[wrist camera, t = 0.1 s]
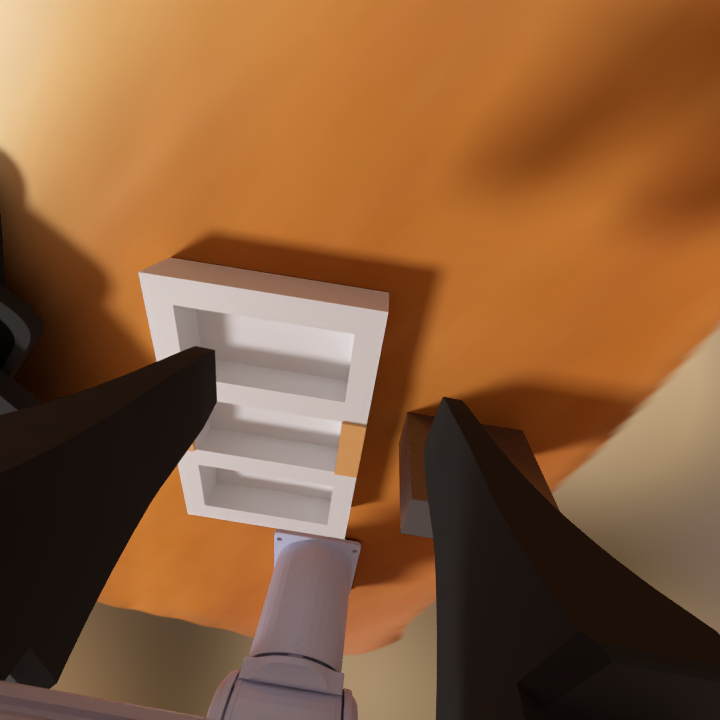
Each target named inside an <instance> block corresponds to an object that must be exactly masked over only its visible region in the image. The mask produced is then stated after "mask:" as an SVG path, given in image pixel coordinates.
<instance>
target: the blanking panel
mask: <svg viewBox="0 0 720 720" xmlns="http://www.w3.org/2000/svg"><path fill="white" fill-rule="evenodd" d="M434 419H435V417H434V416H428V415H421V414H415V413H409V412H407V415H406V419H405V423H404V427H403V430H402V434H401V438H400V442H399V477H400V533H403V534H409V535H415V536H421V537H428V538H433V534H432V526H431V519H430V511H429V504H428V496H427V489H426V481H425V468H424V451H425V441H426V439H427V436H428V434H429V431H430V429H431V426H432V424H433V421H434ZM481 425H482V426H483V428H484V429H485V430H486V432H487V433H488V434H489V435H490V437H491V438H492V439H493V440H494V442H495V443H496V444H497V445H498V447H499V448H500V449H501V450H502V451H503V453H504V454H505V455H506V456H507V457H508V459H509V460H510V461H511V462H512V463H513V464H514V465H515V467H516V468H517V469H518V470H519V471H520V472H521V473H522V474H523V475H524V477H525V478H526V479H527V480H528V481H529V482H530V483H531V484H532V485H533V486H534V487H535V488H536V489H537V490H538V491H539V492H540V493H541V494H542V495H543V496H544V497H545V498H546V499H547V500H548V501H549V502H550V503H551V504H552V505H553V506H554V507H555V508H556V509H557V510H558V511H559V509H558V506H557V504H556V502H555V500H554V498H553V496H552V493H551V491H550V489H549V487H548V485H547V483H546V481H545V478H544V476H543V474H542V472H541V470H540V468H539V465H538V463H537V461H536V459H535V457H534V455H533V452H532V450H531V448H530V446H529V444H528V442H527V439H526V437H525V435H524V433H523V431H520V430H514V429H508V428H502V427H496V426H489V425H483V424H481ZM559 512H560V511H559Z"/></svg>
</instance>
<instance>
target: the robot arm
mask: <svg viewBox="0 0 720 720" xmlns="http://www.w3.org/2000/svg"><path fill="white" fill-rule="evenodd" d="M216 403H217V387H216V361H215V350H213V349H208V348H203V347H198V346H194V347H191V348H188V349H186V350H183V351H181V352H178V353H176V354H174V355H171V356H169V357H167V358H164V359H162V360H160V361H157V362H155V363H153V364H150V365H148V366H146V367H143V368H141V369H139V370H136V371H134V372H131V373H129V374H126V375H124V376H121V377H119V378H116V379H113V380H111V381H108V382H106V383H103V384H100V385H98V386H95V387H93V388H90V389H87V390H84V391H81V392H78V393H75V394H72V395H69V396H66V397H63V398H60V399H56V400H53V401H50V402H47V403H43V404H40V405H36V406H33V407H29V408H25V409H21V410H17V411H13V412H9V413H5V414H1V415H0V720H358V711H357V703H356V701H355V699H354V697H353V696H352V692H351V690H349V689H343V681H344V673H341V669H342V658H343V649H344V640H345V630H346V620H347V610H348V601H349V595H350V591H351V587H352V583H353V579H354V575H355V570H356V566H357V562H358V558H359V554H360V550H361V544H360V543H359V542H357V541H351V540H345V539H339V538H333V537H327V536H320V535H314V534H308V533H302V532H296V531H290V530H284V529H277V530H276V531H275V534H274V572H273V575H272V579H271V582H270V586H269V589H268V593H267V596H266V600H265V603H264V606H263V610H262V613H261V617H260V620H259V624H258V627H257V631H256V634H255V638H254V641H253V645H252V648H251V652H250V655H249V657H247V656H246V657H244V660H243V663H242V667H241V670H240V671H238V670H233V671H231V672H230V673H229V675H228V676H227V677H226V678H224V679H223V680H222V681H221V683H220V684H219V687H218V688H217V690H216V693H215V695H214V697H213V700H212V702H211V705H210V708H209V710H208V713H207V716H206V717H202V716H196V715H191V714H185V713H179V712H174V711H168V710H162V709H157V708H151V707H146V706H140V705H135V704H129V703H124V702H118V701H113V700H107V699H102V698H96V697H90V696H85V695H79V694H74V693H68V692H63V691H57V690H51V689H50V688H51V687H52V686H54V685H55V684H56V683H57V682H58V680H59V677H60V675H61V673H62V671H63V669H64V667H65V664H66V662H67V660H68V658H69V656H70V654H71V652H72V650H73V648H74V646H75V643H76V642H77V639H78V637H79V635H80V633H81V631H82V629H83V627H84V625H85V623H86V621H87V619H88V617H89V614H90V613H91V611H92V609H93V607H94V605H95V603H96V601H97V599H98V597H99V595H100V593H101V591H102V589H103V588H104V586H105V584H106V582H107V580H108V578H109V576H110V574H111V572H112V570H113V568H114V567H115V565H116V563H117V561H118V559H119V557H120V556H121V554H122V552H123V550H124V548H125V547H126V545H127V543H128V541H129V539H130V537H131V536H132V534H133V532H134V530H135V529H136V527H137V525H138V524H139V522H140V520H141V518H142V517H143V515H144V513H145V511H146V510H147V508H148V506H149V505H150V503H151V501H152V500H153V498H154V497H155V495H156V494H157V492H158V491H159V489H160V488H161V486H162V485H163V484H164V482H165V481H166V480H167V478H168V477H169V475H170V474H171V473H172V471H173V470H174V468H175V467H176V466H177V464H178V463H179V462H180V460H181V459H182V457H183V456H184V455H185V453H186V452H187V451H188V449H189V448H190V446H191V445H192V444H193V442H194V441H195V439H196V438H197V436H198V435H199V434H200V432H201V431H202V429H203V428H204V426H205V424H206V422H207V420H208V418H209V417H210V415H211V413H212V411H213V409H214V407H215V405H216ZM424 468H425V481H426V489H427V496H428V504H429V511H430V519H431V526H432V534H433V541H434V551H435V569H436V601H437V698H436V720H720V635H719V634H718V632H717V631H715V630H714V629H712V628H711V627H709V626H708V625H706V624H705V623H704V622H702V621H701V620H699V619H698V618H696V617H695V616H693V615H692V614H691V613H689V612H688V611H686V610H685V609H683V608H682V607H680V606H679V605H677V604H676V603H675V602H673V601H672V600H670V599H669V598H667V597H666V596H665V595H663V594H662V593H660V592H659V591H657V590H656V589H654V588H653V587H652V586H650V585H649V584H648V583H646V582H645V581H643V580H642V579H641V578H640V577H638V576H637V575H636V574H634V573H633V572H632V571H630V570H629V569H628V568H626V567H625V566H624V565H623V564H621V563H620V562H619V561H617V560H616V559H615V558H613V557H612V556H611V555H610V554H609V553H607V552H606V551H605V550H603V549H602V548H601V547H600V546H599V545H597V544H596V543H595V542H594V541H593V540H591V539H590V538H589V537H588V536H587V535H586V534H584V533H583V532H582V531H581V530H580V529H579V528H577V527H576V526H575V525H574V524H573V523H571V522H570V521H569V520H568V519H567V518H566V517H565V516H563V514H562V513H561V512H559V511H558V510H557V509H556V508H555V507H554V506H553V505H552V504H551V503H550V502H549V501H548V500H547V499H546V498H545V497H544V496H543V495H542V494H541V493H540V492H539V491H538V490H537V489H536V488H535V487H534V486H533V485H532V484H531V483H530V482H529V481H528V480H527V479H526V478H525V477H524V475H523V474H522V473H521V472H520V471H519V470H518V469H517V468H516V467H515V465H514V464H513V463H512V462H511V461H510V460H509V459H508V457H507V456H506V455H505V454H504V453H503V451H502V450H501V449H500V448H499V447H498V445H497V444H496V443H495V442H494V440H493V439H492V438H491V437H490V435H489V434H488V433H487V432H486V430H485V429H484V428H483V426H482V425H481V424H480V422H479V421H478V420H477V419H476V417H475V416H474V415H473V413H472V412H471V411H470V409H469V408H468V407H467V406H466V404H465V403H464V402H463V401H462V400H457V399H452V398H447V397H443V398H442V401H441V403H440V406H439V408H438V411H437V413H436V416H435V419H434V421H433V424H432V426H431V429H430V431H429V434H428V436H427V439H426V441H425V451H424Z"/></svg>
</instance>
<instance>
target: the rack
mask: <svg viewBox="0 0 720 720" xmlns="http://www.w3.org/2000/svg"><path fill="white" fill-rule="evenodd" d="M138 273H139V278H140V283H141V288H142V293H143V297H144V302H145V307H146V312H147V317H148V322H149V327H150V332H151V336H152V341H153V346H154V351H155V356H156V361H160V360H162V359H164V358H167V357H169V356H171V355H174V354H176V353H178V352H181V351H183V350H186V349H188V348H191V347H194V346H198V347H203V348H208V349H213V350H215V361H216V387H217V403H216V405H215V407H214V409H213V411H212V413H211V415H210V417H209V418H208V420H207V422H206V424H205V426H204V428H203V429H202V431H201V432H200V434H199V435H198V436H197V438H196V439H195V441H194V442H193V444H192V445H191V446H190V448H189V449H188V451H187V452H186V453H185V455H184V456H183V457H182V459H181V460H180V462H179V463H178V468H179V473H180V478H181V483H182V488H183V493H184V497H185V502H186V507H187V512H188V514H191V515H198V516H204V517H210V518H216V519H222V520H228V521H234V522H241V523H247V524H253V525H259V526H265V527H271V528H277V529H284V530H290V531H296V532H302V533H308V534H314V535H320V536H327V537H333V538H339V539H345V535H346V529H347V524H348V519H349V514H350V509H351V504H352V498H353V493H354V488H355V483H356V478H357V474H358V468H359V463H360V458H361V453H362V448H363V443H364V437H365V432H366V426H367V421H368V416H369V411H370V405H371V400H372V395H373V390H374V385H375V380H376V374H377V369H378V364H379V359H380V354H381V349H382V343H383V338H384V333H385V328H386V323H387V318H388V312H389V292H382V291H376V290H370V289H364V288H357V287H351V286H345V285H339V284H333V283H326V282H320V281H314V280H308V279H301V278H295V277H289V276H283V275H276V274H270V273H264V272H258V271H251V270H245V269H239V268H233V267H227V266H220V265H214V264H208V263H202V262H195V261H189V260H183V259H177V258H168V259H165V260H163V261H161V262H159V263H157V264H155V265H152V266H150V267H148V268H146V269H144V270H142V271H139V272H138Z"/></svg>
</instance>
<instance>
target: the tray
mask: <svg viewBox="0 0 720 720" xmlns="http://www.w3.org/2000/svg"><path fill="white" fill-rule="evenodd" d="M42 332H43V324H42V321H41V319H40V317H39V316H38V315H37V313H36V312H35V311H34V310H33V309H32V308H31V307H30V306H29V305H27V304H26V303H25V302H24V301H22V300H21V299H19V298H18V297H17V296H15V295H14V294H12V293H11V292H10V291H8V290H7V289H6V288H5V280H4V262H3V243H2V225H1V215H0V415H1V414H5V413H9V412H13V411H17V410H21V409H25V408H29V407H33V406H36V405H40V404H41V403H40V402H39V401H38V400H36V399H35V398H34V397H33V396H32V395H31V394H29V393H28V392H27V391H26V390H25V389H24V388H22V387H21V386H20V385H19V384H18V383H17V382H15V381H14V380H13V379H14V377H15V376H16V374H17V373H18V371H19V369H20V368H21V366H22V365H23V363H24V361H25V360H26V358H27V357H28V355H29V354H30V352H31V350H32V349H33V347H34V346H35V344H36V342H37V341H38V339H39V338H40V336H41V334H42Z"/></svg>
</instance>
